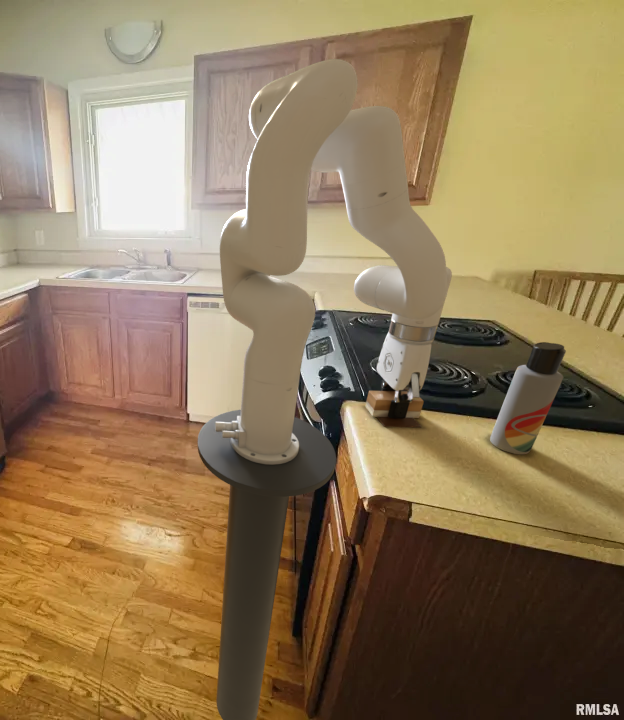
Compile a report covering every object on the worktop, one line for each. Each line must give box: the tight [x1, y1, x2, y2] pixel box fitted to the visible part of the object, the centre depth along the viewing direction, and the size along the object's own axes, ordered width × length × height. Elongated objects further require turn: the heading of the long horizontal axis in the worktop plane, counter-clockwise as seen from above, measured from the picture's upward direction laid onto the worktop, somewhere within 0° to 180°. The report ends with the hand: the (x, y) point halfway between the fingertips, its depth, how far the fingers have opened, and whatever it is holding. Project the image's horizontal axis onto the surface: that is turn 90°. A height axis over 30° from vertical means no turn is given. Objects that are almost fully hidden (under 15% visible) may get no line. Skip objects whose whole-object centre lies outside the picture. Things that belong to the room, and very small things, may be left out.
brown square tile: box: [376, 417, 422, 428], centre depth 81 cm, size 7×6×1 cm
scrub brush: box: [365, 390, 425, 419], centre depth 82 cm, size 9×4×4 cm, turn 83°
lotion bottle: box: [489, 341, 567, 455], centre depth 68 cm, size 6×6×20 cm
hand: (391, 410), depth 83 cm, fingers closed on scrub brush, 4 cm apart
